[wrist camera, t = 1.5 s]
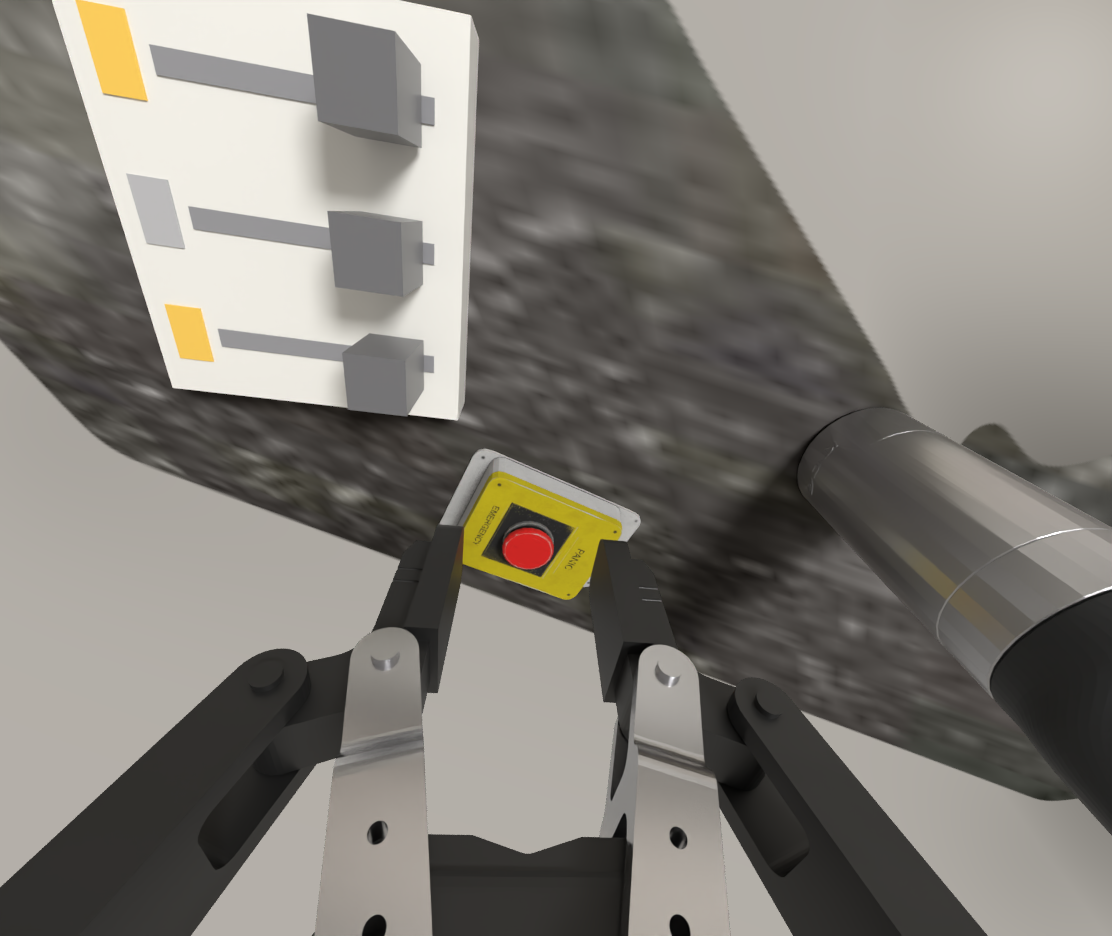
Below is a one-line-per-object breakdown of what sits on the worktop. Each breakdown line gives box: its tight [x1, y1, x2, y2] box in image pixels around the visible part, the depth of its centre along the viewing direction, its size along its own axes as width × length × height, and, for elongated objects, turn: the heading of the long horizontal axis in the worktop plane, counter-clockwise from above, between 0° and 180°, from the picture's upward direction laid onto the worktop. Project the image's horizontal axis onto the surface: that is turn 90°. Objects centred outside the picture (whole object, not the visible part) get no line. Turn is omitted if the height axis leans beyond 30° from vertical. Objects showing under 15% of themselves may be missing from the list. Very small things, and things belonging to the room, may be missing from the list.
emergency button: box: [439, 449, 641, 600], centre depth 35 cm, size 9×4×15 cm
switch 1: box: [307, 13, 422, 148], centre depth 18 cm, size 3×3×4 cm
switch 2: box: [327, 211, 423, 297], centre depth 21 cm, size 3×3×4 cm
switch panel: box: [52, 0, 479, 420], centre depth 24 cm, size 17×19×3 cm
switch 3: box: [342, 333, 424, 416], centre depth 24 cm, size 3×3×4 cm
